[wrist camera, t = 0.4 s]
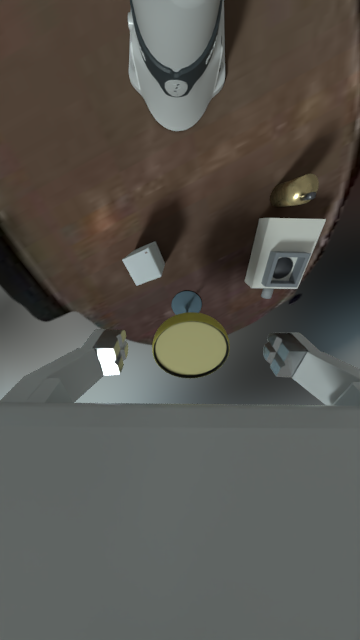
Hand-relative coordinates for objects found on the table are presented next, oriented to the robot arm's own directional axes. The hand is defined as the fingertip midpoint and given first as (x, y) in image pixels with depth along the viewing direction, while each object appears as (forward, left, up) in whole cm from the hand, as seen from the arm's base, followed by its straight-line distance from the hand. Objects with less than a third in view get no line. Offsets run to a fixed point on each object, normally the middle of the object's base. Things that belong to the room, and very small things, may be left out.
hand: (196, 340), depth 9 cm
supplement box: (+4, -10, -46) cm, 47 cm away
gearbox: (+4, +28, -46) cm, 54 cm away
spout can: (-12, +25, -46) cm, 53 cm away
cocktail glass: (+20, +2, -46) cm, 50 cm away
